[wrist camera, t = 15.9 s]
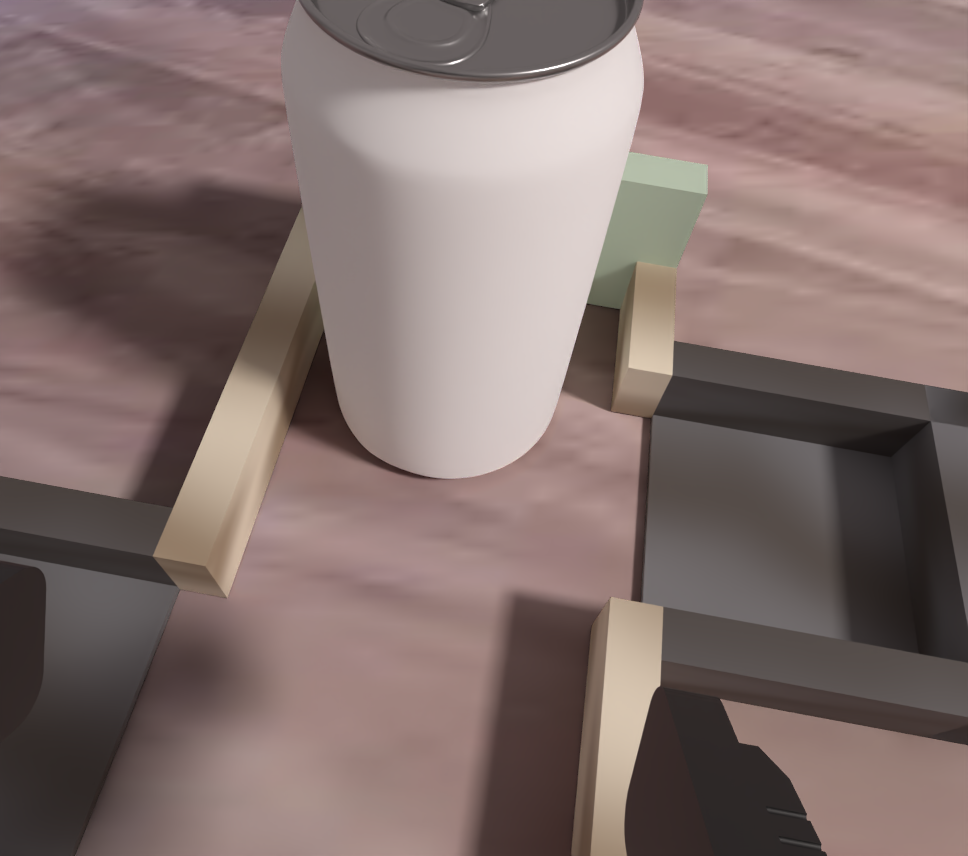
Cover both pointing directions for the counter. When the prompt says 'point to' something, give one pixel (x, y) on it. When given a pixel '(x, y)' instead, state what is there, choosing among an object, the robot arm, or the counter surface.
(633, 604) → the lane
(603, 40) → the can
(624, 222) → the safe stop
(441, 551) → the counter surface
